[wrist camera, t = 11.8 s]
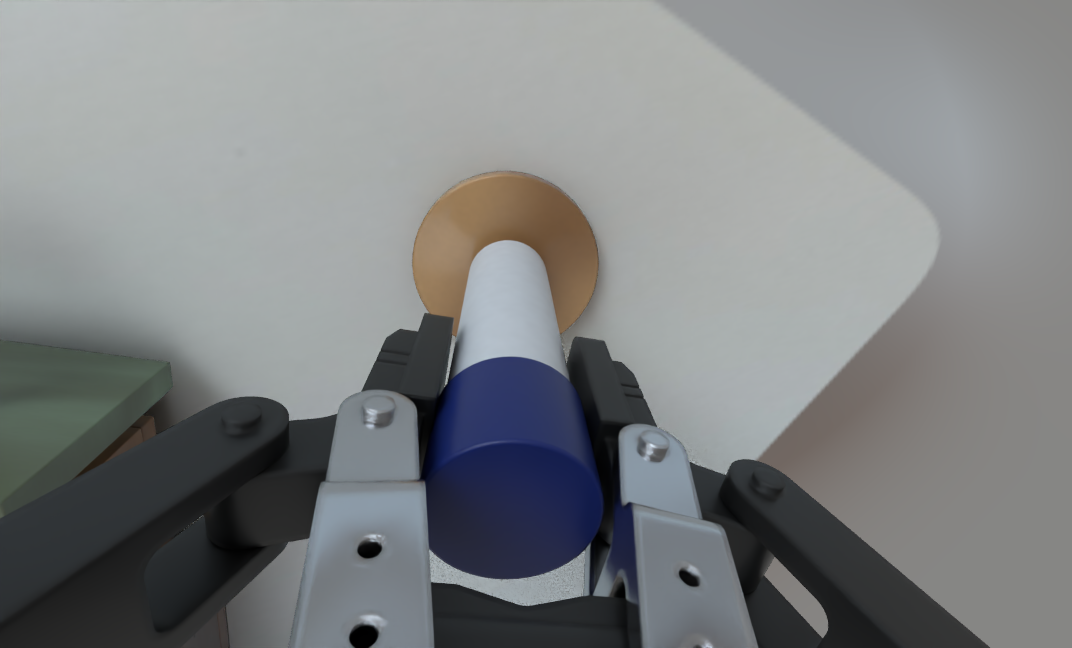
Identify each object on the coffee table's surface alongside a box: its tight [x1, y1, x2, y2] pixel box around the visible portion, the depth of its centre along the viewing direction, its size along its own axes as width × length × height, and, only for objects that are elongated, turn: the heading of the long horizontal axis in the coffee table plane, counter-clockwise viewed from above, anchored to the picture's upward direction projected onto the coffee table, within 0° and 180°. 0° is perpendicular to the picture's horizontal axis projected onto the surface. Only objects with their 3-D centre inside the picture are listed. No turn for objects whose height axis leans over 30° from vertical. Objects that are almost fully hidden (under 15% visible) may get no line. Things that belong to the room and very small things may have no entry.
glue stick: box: [420, 240, 604, 579], centre depth 13 cm, size 3×3×11 cm
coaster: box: [412, 171, 599, 337], centre depth 19 cm, size 7×7×1 cm
